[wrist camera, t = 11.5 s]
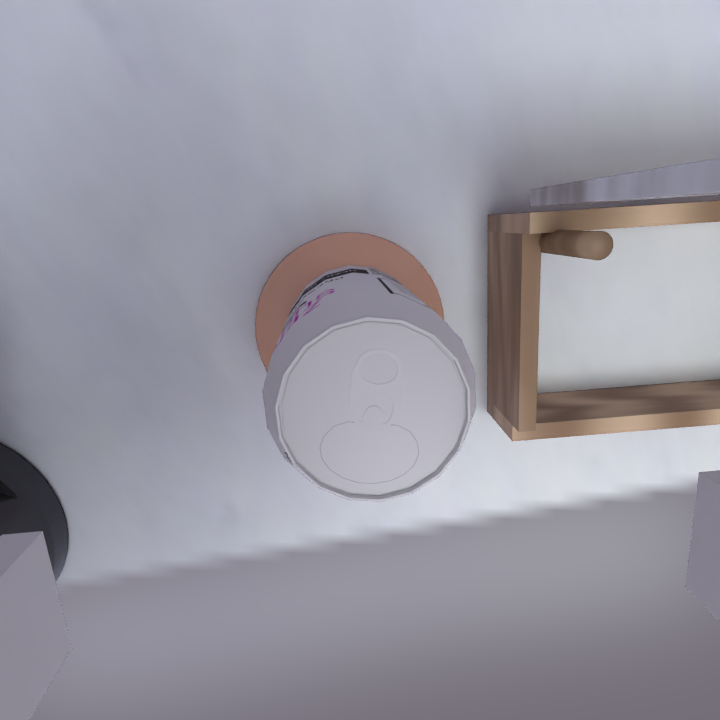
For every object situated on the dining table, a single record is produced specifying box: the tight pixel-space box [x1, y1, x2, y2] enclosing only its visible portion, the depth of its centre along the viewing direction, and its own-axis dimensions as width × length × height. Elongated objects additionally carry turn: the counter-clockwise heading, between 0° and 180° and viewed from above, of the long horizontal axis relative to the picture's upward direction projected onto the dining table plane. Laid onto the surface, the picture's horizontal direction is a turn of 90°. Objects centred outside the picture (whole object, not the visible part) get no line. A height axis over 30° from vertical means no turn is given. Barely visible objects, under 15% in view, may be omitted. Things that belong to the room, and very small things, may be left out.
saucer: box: [255, 233, 444, 372], centre depth 33 cm, size 12×12×1 cm
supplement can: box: [263, 265, 476, 502], centre depth 26 cm, size 8×8×15 cm
